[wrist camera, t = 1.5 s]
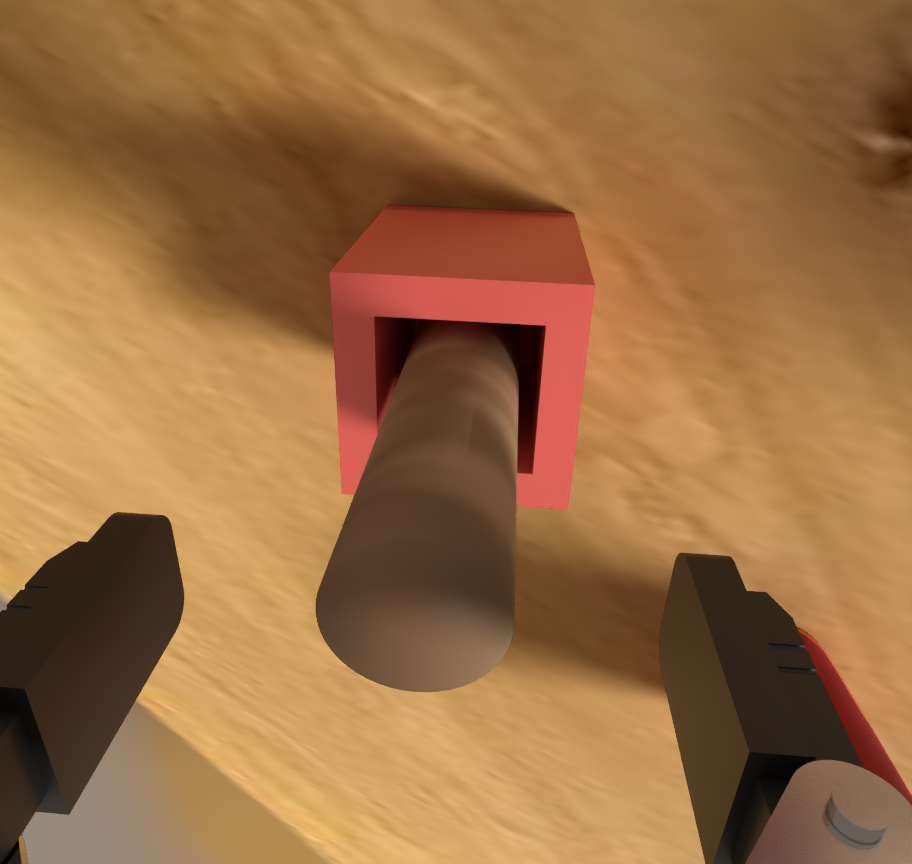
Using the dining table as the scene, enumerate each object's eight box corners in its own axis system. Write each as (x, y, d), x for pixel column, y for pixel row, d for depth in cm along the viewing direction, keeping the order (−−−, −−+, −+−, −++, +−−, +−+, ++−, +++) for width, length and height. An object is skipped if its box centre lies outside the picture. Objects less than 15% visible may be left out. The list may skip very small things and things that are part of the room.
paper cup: (632, 661, 32) (700, 1047, 20) (787, 571, 29) (981, 958, 17) (736, 755, 34) (855, 1156, 22) (890, 681, 31) (1128, 1095, 19)
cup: (573, 213, 23) (595, 285, 16) (556, 384, 26) (567, 509, 19) (387, 204, 24) (329, 271, 17) (390, 374, 26) (342, 493, 19)
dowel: (523, 263, 23) (521, 547, 10) (517, 350, 25) (508, 700, 12) (430, 259, 24) (309, 531, 10) (429, 346, 25) (321, 683, 12)
